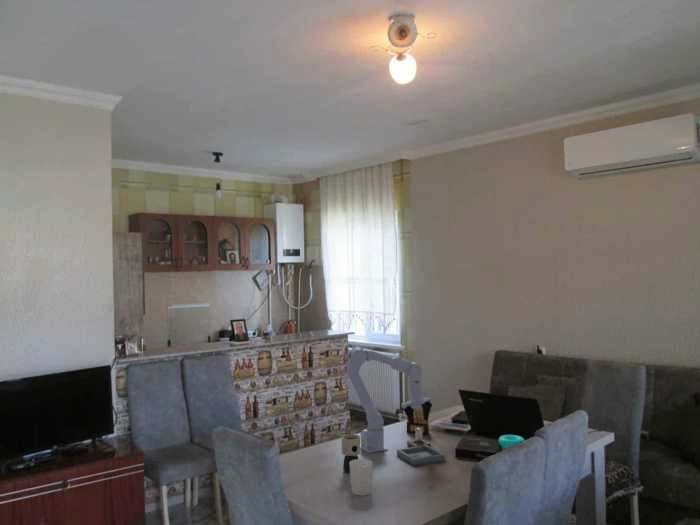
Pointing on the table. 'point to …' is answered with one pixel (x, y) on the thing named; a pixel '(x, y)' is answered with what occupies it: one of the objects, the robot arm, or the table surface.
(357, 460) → the white cup
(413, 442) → the pin block
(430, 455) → the tray
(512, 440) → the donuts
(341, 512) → the table surface
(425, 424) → the ammunition clip
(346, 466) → the character mug
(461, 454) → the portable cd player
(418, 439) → the steel pin
